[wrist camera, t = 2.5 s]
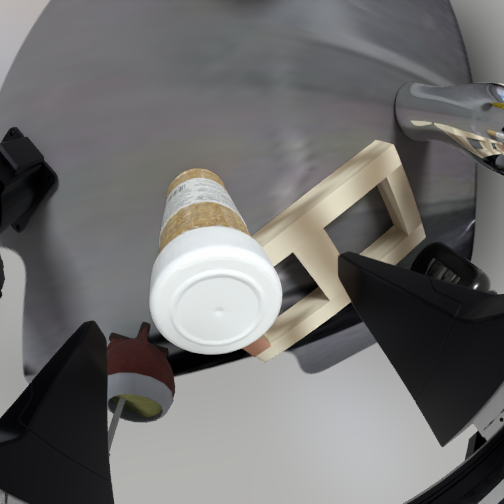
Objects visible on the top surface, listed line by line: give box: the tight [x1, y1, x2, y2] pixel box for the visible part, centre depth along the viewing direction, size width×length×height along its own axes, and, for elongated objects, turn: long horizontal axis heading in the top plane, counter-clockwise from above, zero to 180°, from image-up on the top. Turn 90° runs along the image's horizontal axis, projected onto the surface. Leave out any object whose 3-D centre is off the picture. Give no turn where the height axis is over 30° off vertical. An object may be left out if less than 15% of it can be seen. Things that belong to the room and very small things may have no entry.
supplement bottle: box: [412, 242, 497, 294], centre depth 25 cm, size 7×7×12 cm
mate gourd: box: [107, 322, 175, 456], centre depth 19 cm, size 8×8×15 cm
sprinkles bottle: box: [149, 168, 282, 354], centre depth 15 cm, size 5×5×13 cm
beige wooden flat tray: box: [242, 140, 426, 363], centre depth 24 cm, size 21×11×3 cm, turn 127°
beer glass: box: [395, 81, 504, 176], centre depth 14 cm, size 7×7×15 cm
